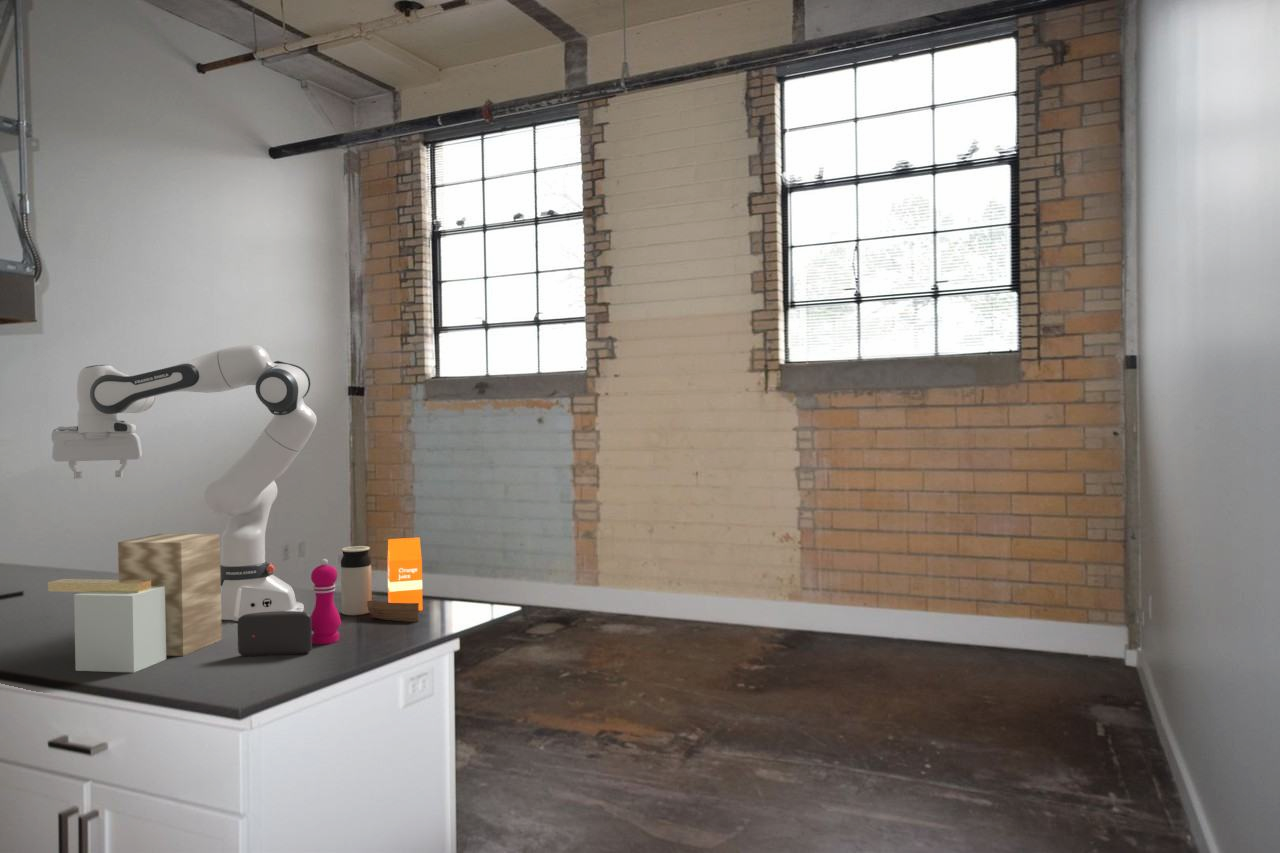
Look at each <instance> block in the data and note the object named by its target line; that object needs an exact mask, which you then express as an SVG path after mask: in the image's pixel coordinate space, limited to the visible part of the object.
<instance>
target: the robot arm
mask: <svg viewBox="0 0 1280 853" xmlns="http://www.w3.org/2000/svg"><path fill="white" fill-rule="evenodd" d="M245 386H255V388H254V389H255V393H256V396H257V398H258V400H259V401H260V402H261V403H262V405H264V406H265V407H266V409H268V411H269V412H270V413H271V414H272V415H273V417H272V418H271V420H269V422H268V423H267V425H266V427H265V428H264V429H263V430H262V431H261V433H260V435H259V436H258V437H257V439H256V440H255V441H254V442H253V443H252V445H251V446H250V447H249V449H248V450H246V452H245V453H244V454H243V455H242V456H241V457H240V458H238V459H237V460H236V461H235V462H234V463H233V464H232V465H231V466H230V467H229V468H228V469H226V471H225V472H223V474H221V475H220V476H219V477H217V478H216V479H215V480H214V481H211V482H210V483H209V484H208V485H207V486H206V488H205V489H204V491H203V492H204V493H203V502H204V505H205V507H206V509H208V511H209V512H211V513H212V514H214V515H218V516H224V517H229V518H228V521H227V525H226V528H225V529H224V531H223V532H222V534H221V536H220V578H221V620H223V621H235V622H238V619H239V618H240V617H241V616H243V615H246V614H252V613H261V612H275V611H297V612H304V611H305V606H304V603H303V602H299V601H297V600H296V595H295V594H296V593H295V592H294V588H292V586H291V585H290V584H288V583H287V582H285V581H283V580H282V579H280V578H279V577H277V576H276V575H274V571H275V566H274V565H273V564H272V562H267V561H266V531H267V525H268V520H269V516H270V512H271V509H272V505H273V503H274V502H275V500H276V499H277V497H278V485H277V484H276V479H278V478H279V477H280V476H282V475H283V474H284V473H286V471H287V470H288V468H289V467H290V466H291V465H292V463H293V462H294V460H295V459H296V458H297V457H298V455H299V454H300V452H301V451H302V450H303V448H304V447H305V445H306V443H307V442H308V440H309V439H310V437H311V435H312V434H313V432H314V430H315V428H316V425H317V423H318V422H317V420H318V418H317V416H316V413H315V412H314V411H313V409H311V408H310V407H309V406H308V405H306V403H305V402H304V398H305V397H306V396H307V395H308V393H309V391H310V387H311V378H310V376H309V374H308V372H307V371H306V370H305V369H304V368H302V367H300V366H299V365H296V364H293V363H288V362H284V361H280V360H276V361H272V360H271V356H270V355H269V353H268V352H267V350H266V349H265V348H264V347H262V346H261V345H259V344H243V345H242V344H241V345H235V346H231V347H225V348H222V349H217V350H215V351H211V352H208V353H205V354H203V355H200V356H197V357H194V358H192V359H190V360H186V361H183V362H181V363H178V364H176V365H173V366H169V367H168V366H167V367H166V368H165V367H164V368H161V369H156V370H153V371H147V372H145V373H139V374H135V375H129V374H126V373H125V372H122V371H119V370H117V369H116V368H115V367H114V366H112V365H110V364H97V365H96V364H95V365H89V366H85V367H84V368H82V369H81V370H80V371H79V372H78V377H77V385H76V388H77V389H76V399H77V403H78V411H77V425H75V426H73V425H72V426H58V427H56V428H54V429H53V430H52V431H51V441H52V443H53V445H52V452H51V454H52V455H51V456H52V457H51V458H52V459H53V461H54V462H58V463H60V462H67V463H68V467H69V469H70V470H71V471H72V473H73V479H75V480H76V479H77V480H79V479H82V478H83V477H82V476H83V475H82V471H78V469H77V468H76V465H78V464H77V462H88V461H89V462H90V461H91V462H94V461H119V465H121V466H120V467H119V469H118V470H117V469H116V470H115V472H114V477H115V478H123V476H124V475H123V474H124V472H123V471H124V469H125V468H126V466H127V465H128V460H131V461H132V460H134V461H135V460H140V458H142V456H143V450H142V441H141V439H140V436H139V435H138V434H137V433H136V431H137V425H136V424H135V423H131V422H126V421H125V420H120V419H119V420H118V418H117V417H118V416H117V414H138V413H139V414H140V413H143V412H145V411H148V410H149V409H150V408H152V407H153V405H154V403H155V401H156V397H157V396H161V395H164V394H168V393H173V392H174V393H175V392H187V393H188V392H190V393H191V392H192V393H206V394H210V393H212V394H213V393H221V392H222V393H223V392H227V391H230V390H235V389H239V388H242V387H245Z"/></svg>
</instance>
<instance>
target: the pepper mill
mask: <svg viewBox="0 0 1280 853" xmlns="http://www.w3.org/2000/svg"><path fill="white" fill-rule="evenodd" d="M328 563H329V560H328V559H327V558H322V559H321V560H320V562H319V564H320V565H318V566H317V567H315V568H314V569H312V571H311V574H310V580H311V582H312V583H313V585H314V586H313V592H314V594H315V606H314V609H313V611H312V613H311V614H310V616H311V622H312V645H329V644H334V643H336V642H338V641H339V640H340V633H339V631H338V629H339V628H340V627H341V624H342V620H341V615H340V613H339V612H338V609H337V607H336V605H335V600H334V592H335V591H336V584H335V583H336V581H337V579H338V571H337V569H336V568H335V567H334V566H332V565H329V564H328Z"/></svg>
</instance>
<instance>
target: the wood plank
mask: <svg viewBox="0 0 1280 853" xmlns="http://www.w3.org/2000/svg"><path fill="white" fill-rule="evenodd" d="M367 607H368V610H369V613H368V614H369V615H371V618H376V619H380V620H384V621H385V620H387V621H393V622H396V621H397V622H408V623H409V622H411V623H412V622H413V623H419V611H418V610H419V603H388V601H387V602H386V601H385V602H384V601H378V600H377V601H376V600H372V601H367Z"/></svg>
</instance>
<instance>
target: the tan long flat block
mask: <svg viewBox="0 0 1280 853" xmlns="http://www.w3.org/2000/svg"><path fill="white" fill-rule="evenodd" d="M150 589H151V580H119V579H106V578H105V579H101V578H97V579H93V578H91V579H90V578H85V579H84V578H61V579H56V580H53V581H48V582H47V591H48V592H58V593H59V592H63V593H64V592H67V593H68V592H70V593H72V592H74V593H75V592H76V593H83V592H121V593H139V592H143V591H146V590H150Z"/></svg>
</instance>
